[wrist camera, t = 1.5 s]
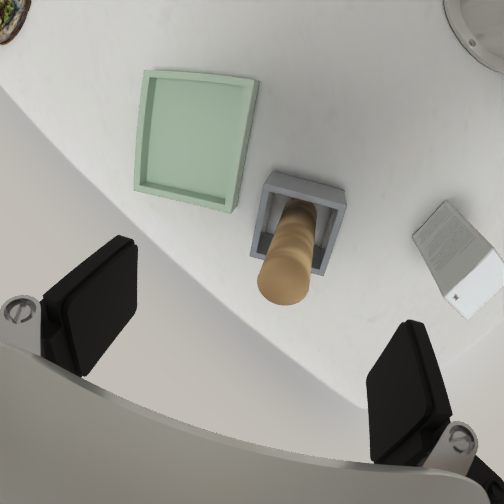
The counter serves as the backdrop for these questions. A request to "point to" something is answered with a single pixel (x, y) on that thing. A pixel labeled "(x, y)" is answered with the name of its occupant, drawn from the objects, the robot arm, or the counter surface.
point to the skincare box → (460, 260)
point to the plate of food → (12, 18)
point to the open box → (308, 193)
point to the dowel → (290, 255)
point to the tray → (193, 137)
